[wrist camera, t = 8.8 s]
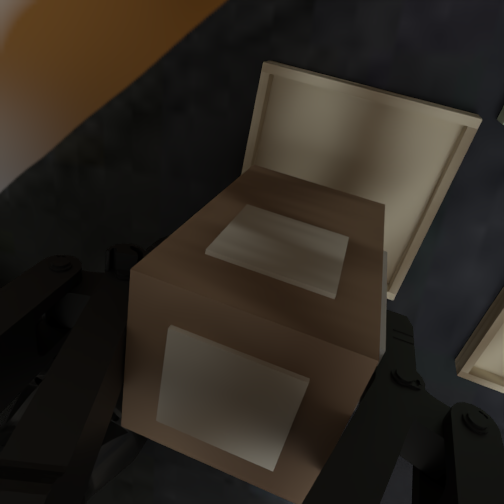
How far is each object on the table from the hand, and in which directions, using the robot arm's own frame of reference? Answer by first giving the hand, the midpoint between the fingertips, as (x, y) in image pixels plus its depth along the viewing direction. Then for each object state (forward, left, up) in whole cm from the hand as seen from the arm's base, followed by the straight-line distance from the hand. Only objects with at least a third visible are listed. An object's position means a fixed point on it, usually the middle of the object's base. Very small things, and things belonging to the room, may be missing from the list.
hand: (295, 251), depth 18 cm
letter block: (0, 0, -1) cm, 1 cm away
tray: (+1, 0, -9) cm, 10 cm away
